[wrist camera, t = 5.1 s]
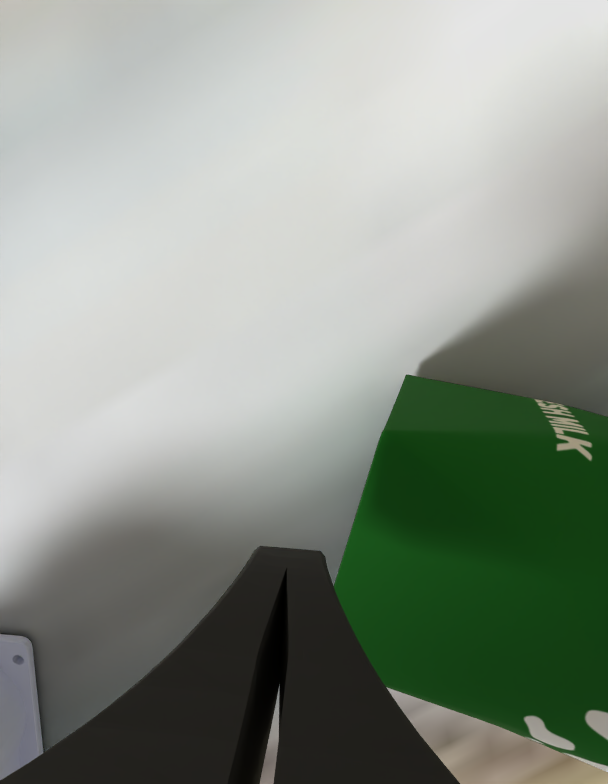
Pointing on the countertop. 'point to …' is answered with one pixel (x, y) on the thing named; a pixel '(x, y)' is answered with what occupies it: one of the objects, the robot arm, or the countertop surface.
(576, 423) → the soya milk
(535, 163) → the countertop surface
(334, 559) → the countertop surface
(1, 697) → the robot arm
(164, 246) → the countertop surface
